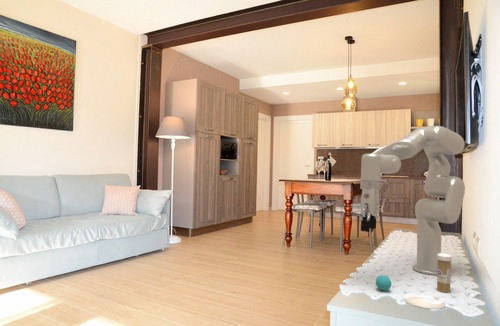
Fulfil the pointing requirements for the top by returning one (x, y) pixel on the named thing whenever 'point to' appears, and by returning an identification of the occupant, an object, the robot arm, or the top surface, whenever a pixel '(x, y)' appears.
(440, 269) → the sprinkles bottle
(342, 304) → the top surface
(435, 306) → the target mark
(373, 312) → the top surface
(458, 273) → the top surface
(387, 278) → the ball
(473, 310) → the top surface
